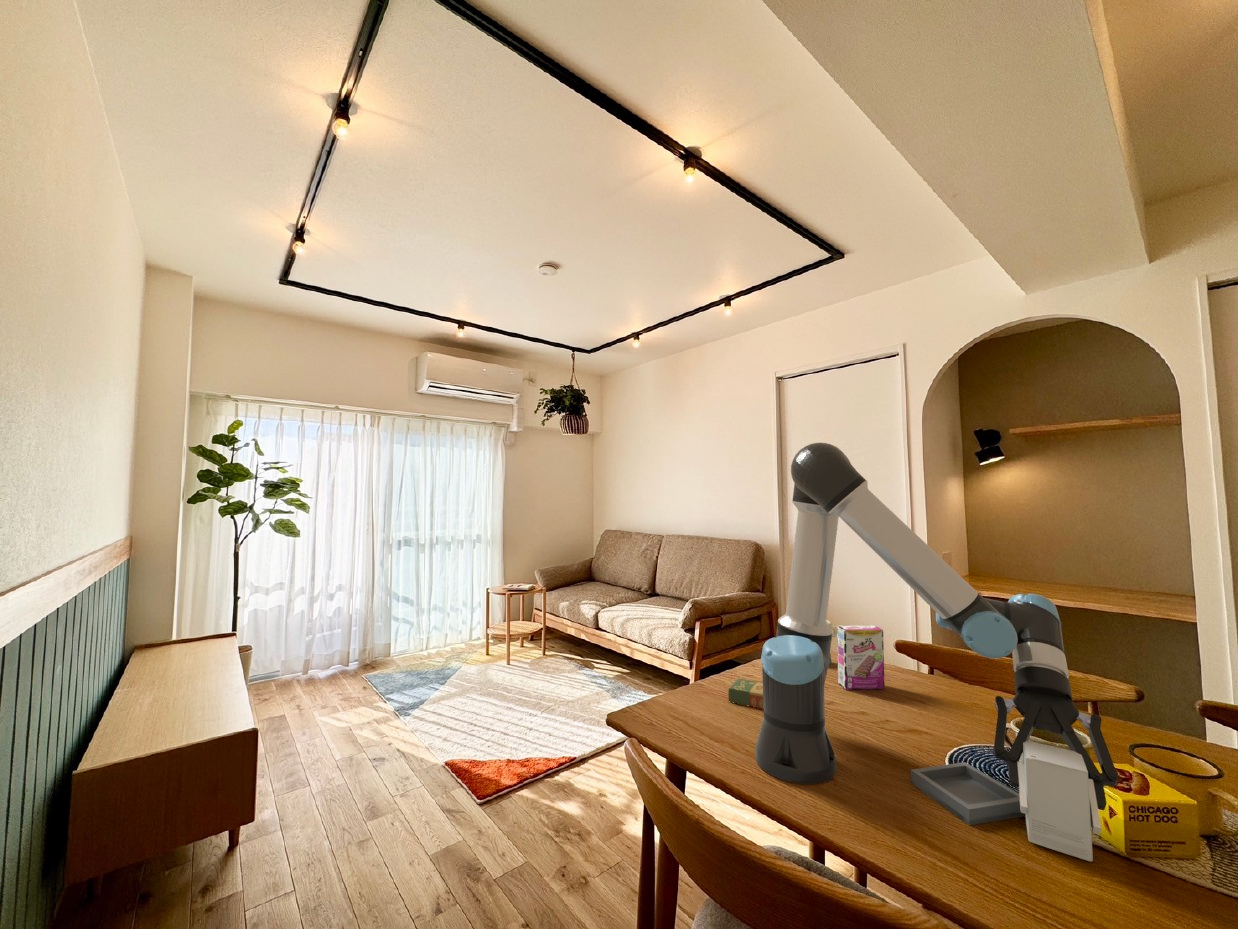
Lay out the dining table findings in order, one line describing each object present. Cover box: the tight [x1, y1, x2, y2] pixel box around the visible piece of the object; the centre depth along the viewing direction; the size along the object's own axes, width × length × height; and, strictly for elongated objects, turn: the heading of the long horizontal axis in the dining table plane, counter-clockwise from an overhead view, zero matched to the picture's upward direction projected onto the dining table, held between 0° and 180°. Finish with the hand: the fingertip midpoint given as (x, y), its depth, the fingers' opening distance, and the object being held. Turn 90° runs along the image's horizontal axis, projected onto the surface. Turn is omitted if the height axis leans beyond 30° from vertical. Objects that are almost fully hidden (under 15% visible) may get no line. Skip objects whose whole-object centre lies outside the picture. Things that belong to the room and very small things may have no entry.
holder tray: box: [910, 761, 1026, 826], centre depth 87 cm, size 12×12×2 cm
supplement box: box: [1022, 740, 1094, 862], centre depth 77 cm, size 7×7×13 cm
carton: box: [727, 677, 763, 710], centre depth 128 cm, size 8×16×4 cm, turn 59°
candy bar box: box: [836, 624, 885, 691], centre depth 139 cm, size 11×5×16 cm, turn 92°
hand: (1059, 819), depth 74 cm, fingers closed on supplement box, 7 cm apart
